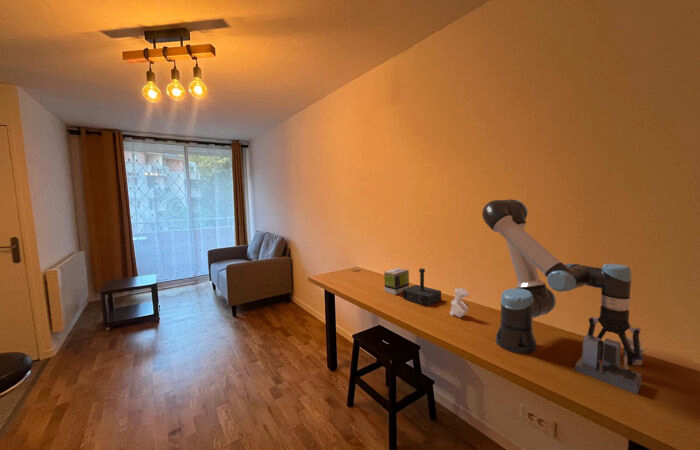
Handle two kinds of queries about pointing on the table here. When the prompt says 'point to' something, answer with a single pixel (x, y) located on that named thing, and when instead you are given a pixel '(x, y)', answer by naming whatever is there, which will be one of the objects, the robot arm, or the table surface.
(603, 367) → the grey block fixture
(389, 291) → the tea box
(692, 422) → the table surface
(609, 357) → the long gray rectangular block
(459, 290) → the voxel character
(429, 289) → the dark box with post
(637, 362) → the pill bottle
